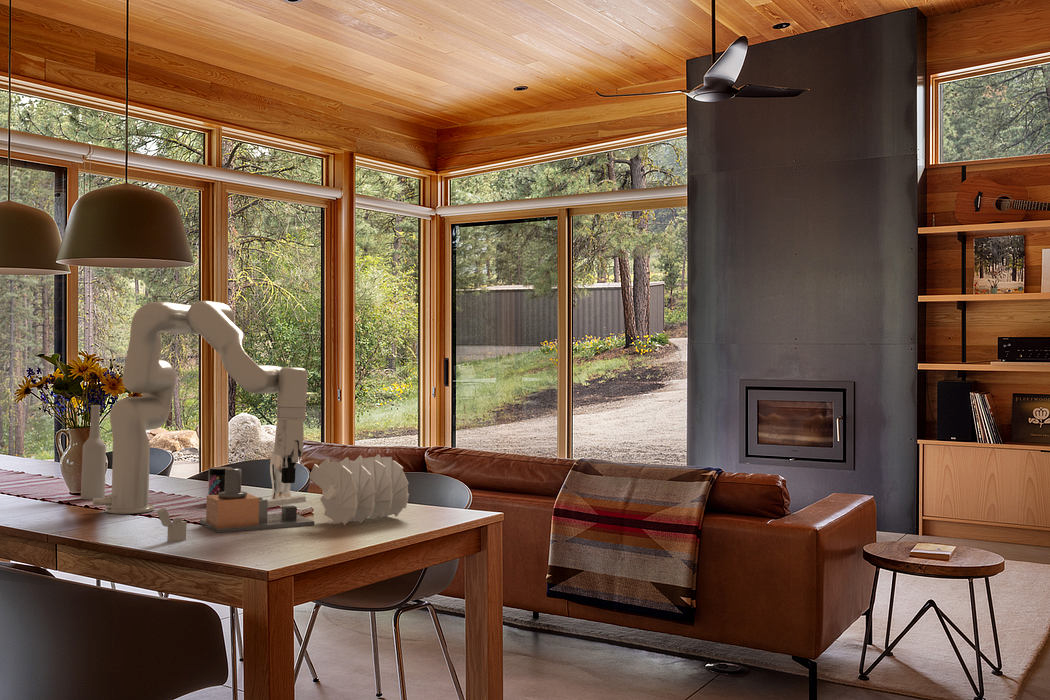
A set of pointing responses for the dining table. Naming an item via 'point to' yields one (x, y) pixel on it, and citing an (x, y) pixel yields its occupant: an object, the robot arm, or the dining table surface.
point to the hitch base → (262, 525)
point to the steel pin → (232, 485)
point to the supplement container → (216, 480)
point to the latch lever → (286, 501)
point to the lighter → (173, 526)
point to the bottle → (93, 460)
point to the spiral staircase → (361, 488)
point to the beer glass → (278, 478)
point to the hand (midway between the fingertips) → (288, 482)
